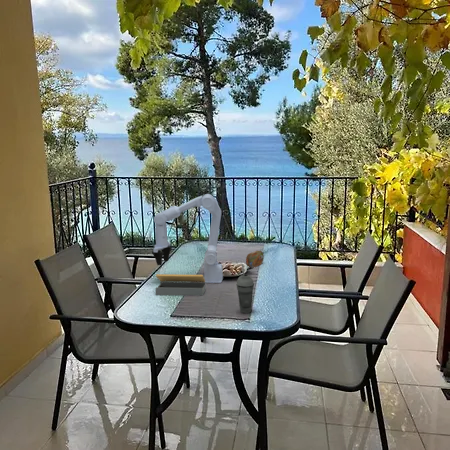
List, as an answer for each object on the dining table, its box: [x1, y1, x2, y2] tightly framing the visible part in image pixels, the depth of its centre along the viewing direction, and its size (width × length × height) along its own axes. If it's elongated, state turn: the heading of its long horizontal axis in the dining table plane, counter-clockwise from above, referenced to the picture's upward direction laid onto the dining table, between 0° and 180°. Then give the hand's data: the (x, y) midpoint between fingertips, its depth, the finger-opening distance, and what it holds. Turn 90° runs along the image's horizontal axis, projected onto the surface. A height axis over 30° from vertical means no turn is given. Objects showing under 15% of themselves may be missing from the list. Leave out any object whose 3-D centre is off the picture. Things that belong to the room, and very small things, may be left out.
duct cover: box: [155, 273, 205, 283], centre depth 202 cm, size 22×9×1 cm
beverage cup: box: [236, 263, 255, 314], centre depth 175 cm, size 7×7×20 cm
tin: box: [245, 250, 265, 269], centre depth 243 cm, size 15×3×8 cm, turn 143°
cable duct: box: [155, 281, 206, 297], centre depth 202 cm, size 22×9×4 cm, turn 84°
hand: (162, 263), depth 216 cm, fingers open, 7 cm apart
